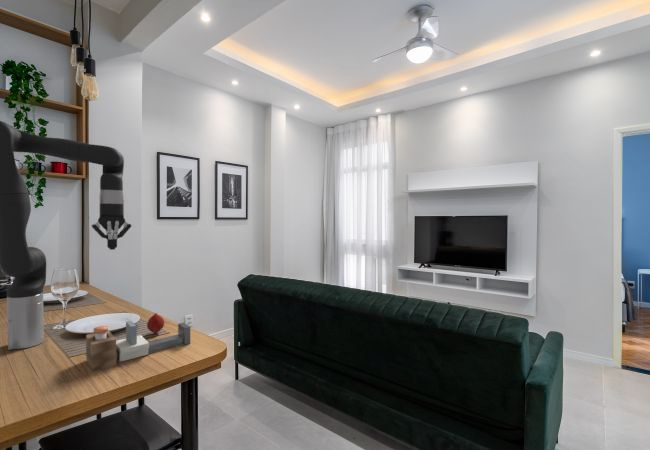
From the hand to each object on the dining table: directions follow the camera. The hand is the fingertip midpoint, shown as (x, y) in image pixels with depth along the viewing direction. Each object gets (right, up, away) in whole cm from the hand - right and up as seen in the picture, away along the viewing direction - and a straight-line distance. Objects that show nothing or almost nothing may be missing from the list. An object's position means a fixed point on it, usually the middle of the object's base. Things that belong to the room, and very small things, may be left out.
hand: (112, 249), depth 124 cm
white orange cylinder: (+11, -30, -22) cm, 39 cm away
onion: (+15, -32, +2) cm, 36 cm away
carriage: (+17, -33, -16) cm, 40 cm away
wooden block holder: (+11, -33, -22) cm, 41 cm away
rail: (+21, -33, -13) cm, 41 cm away
